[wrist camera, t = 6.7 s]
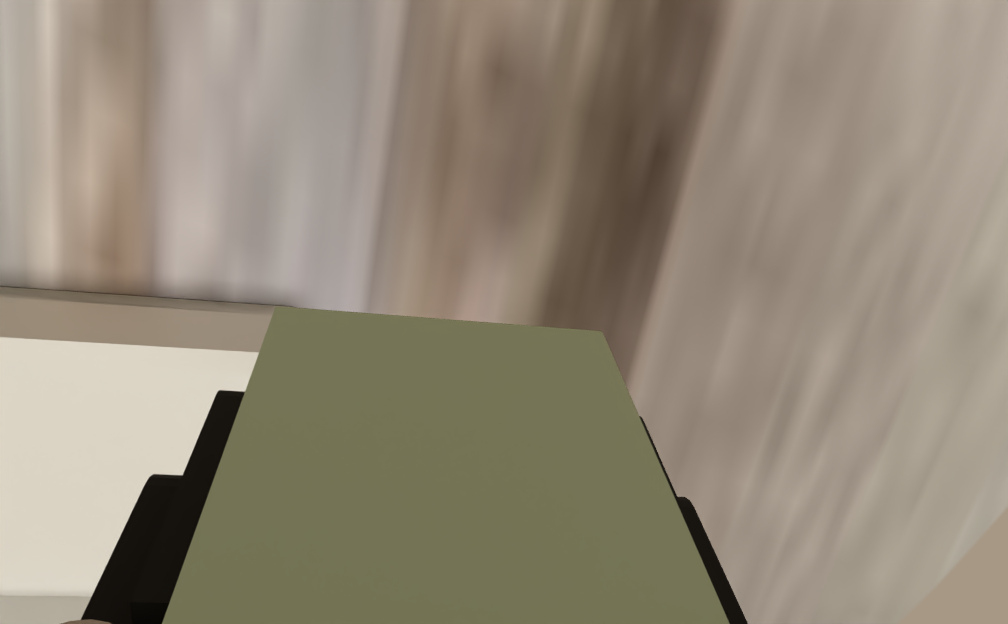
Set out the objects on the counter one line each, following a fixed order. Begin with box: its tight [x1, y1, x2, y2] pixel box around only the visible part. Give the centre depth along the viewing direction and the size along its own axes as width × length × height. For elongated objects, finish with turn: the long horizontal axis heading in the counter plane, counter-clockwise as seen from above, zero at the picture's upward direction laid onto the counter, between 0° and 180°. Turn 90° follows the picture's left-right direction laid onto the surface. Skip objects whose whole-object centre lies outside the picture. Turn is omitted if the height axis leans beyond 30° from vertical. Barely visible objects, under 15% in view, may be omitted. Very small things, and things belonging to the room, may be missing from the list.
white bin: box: [0, 287, 290, 624], centre depth 30 cm, size 16×16×4 cm
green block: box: [162, 306, 729, 624], centre depth 10 cm, size 5×5×6 cm
